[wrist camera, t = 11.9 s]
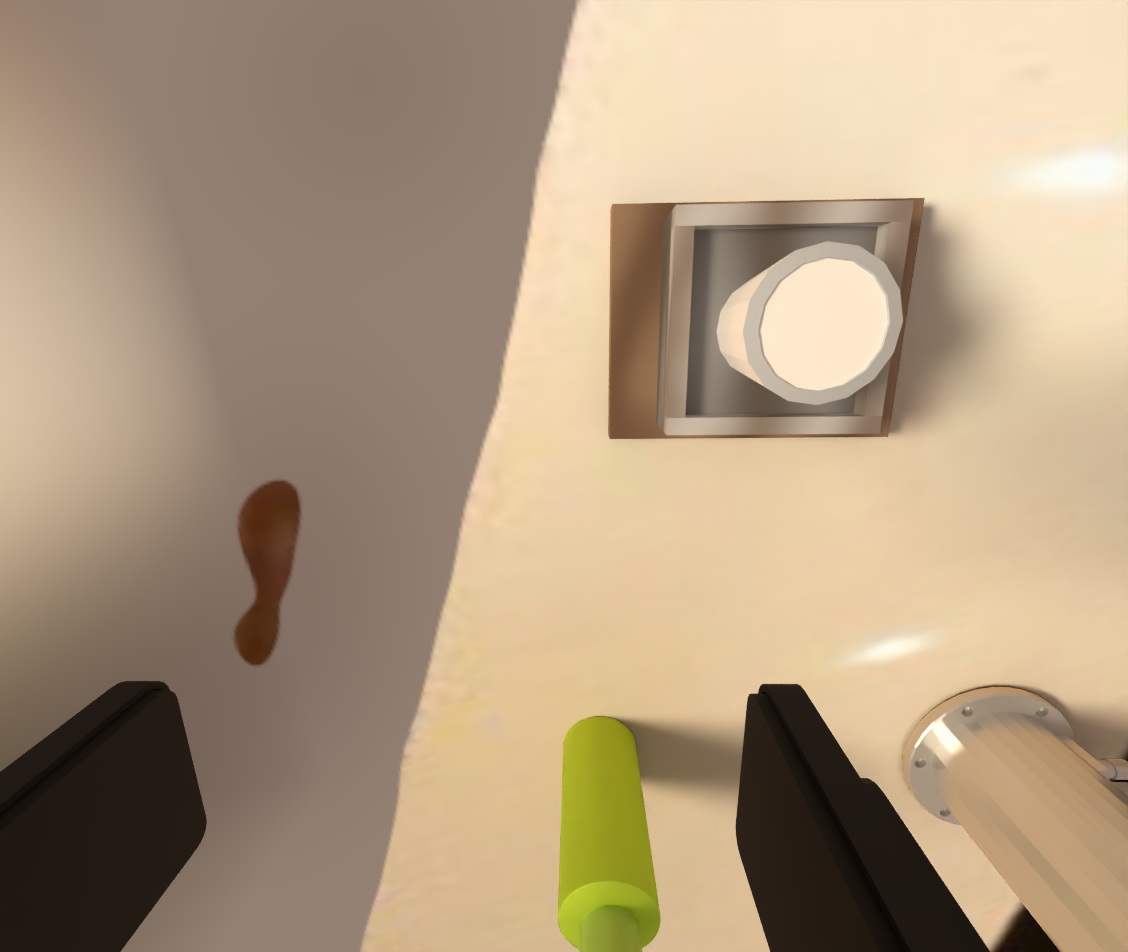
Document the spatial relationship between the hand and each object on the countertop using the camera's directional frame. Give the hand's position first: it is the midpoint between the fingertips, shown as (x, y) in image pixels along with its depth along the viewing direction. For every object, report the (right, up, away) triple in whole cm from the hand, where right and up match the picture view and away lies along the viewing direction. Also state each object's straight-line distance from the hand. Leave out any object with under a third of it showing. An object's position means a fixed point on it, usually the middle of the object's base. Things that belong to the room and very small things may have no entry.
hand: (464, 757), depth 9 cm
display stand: (+14, +14, +25) cm, 32 cm away
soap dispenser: (+5, -18, +34) cm, 39 cm away
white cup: (+13, +13, +21) cm, 28 cm away
